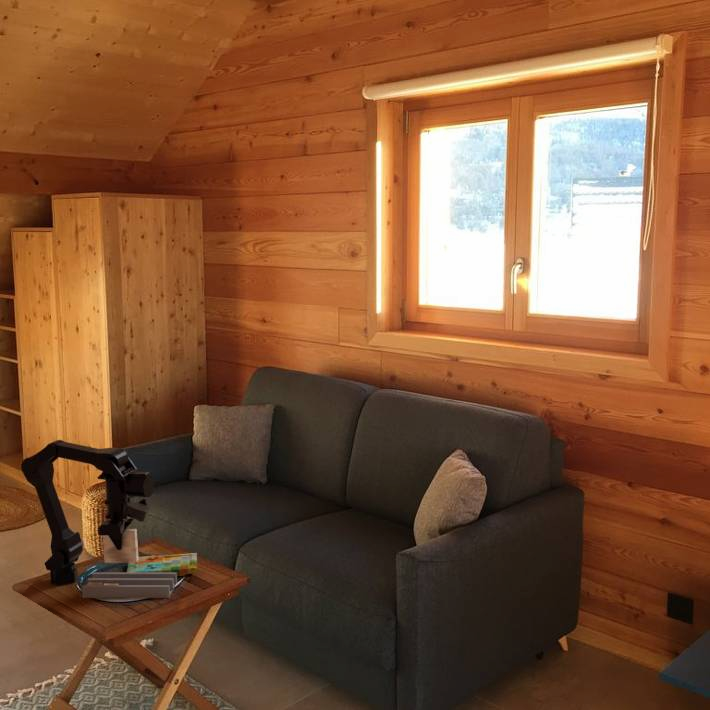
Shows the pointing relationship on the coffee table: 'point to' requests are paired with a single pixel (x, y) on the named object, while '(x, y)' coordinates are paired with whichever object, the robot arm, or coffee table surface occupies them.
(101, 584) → the offcut dark
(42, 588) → the coffee table surface
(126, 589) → the rack
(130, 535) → the beige square panel
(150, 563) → the puzzle game
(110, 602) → the coffee table surface
